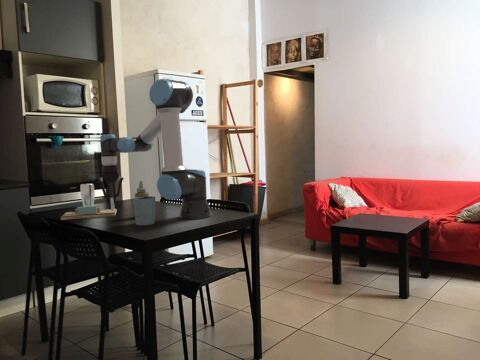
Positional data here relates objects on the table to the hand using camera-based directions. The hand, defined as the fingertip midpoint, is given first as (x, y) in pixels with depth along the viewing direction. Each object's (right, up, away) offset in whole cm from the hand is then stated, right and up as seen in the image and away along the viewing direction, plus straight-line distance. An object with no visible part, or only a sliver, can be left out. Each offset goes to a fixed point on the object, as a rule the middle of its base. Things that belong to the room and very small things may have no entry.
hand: (112, 210), depth 218 cm
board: (-13, -3, +4) cm, 14 cm away
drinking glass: (+22, -4, -24) cm, 33 cm away
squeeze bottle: (+17, -3, -7) cm, 19 cm away
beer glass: (-14, -2, +6) cm, 16 cm away
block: (-12, -2, -2) cm, 12 cm away
